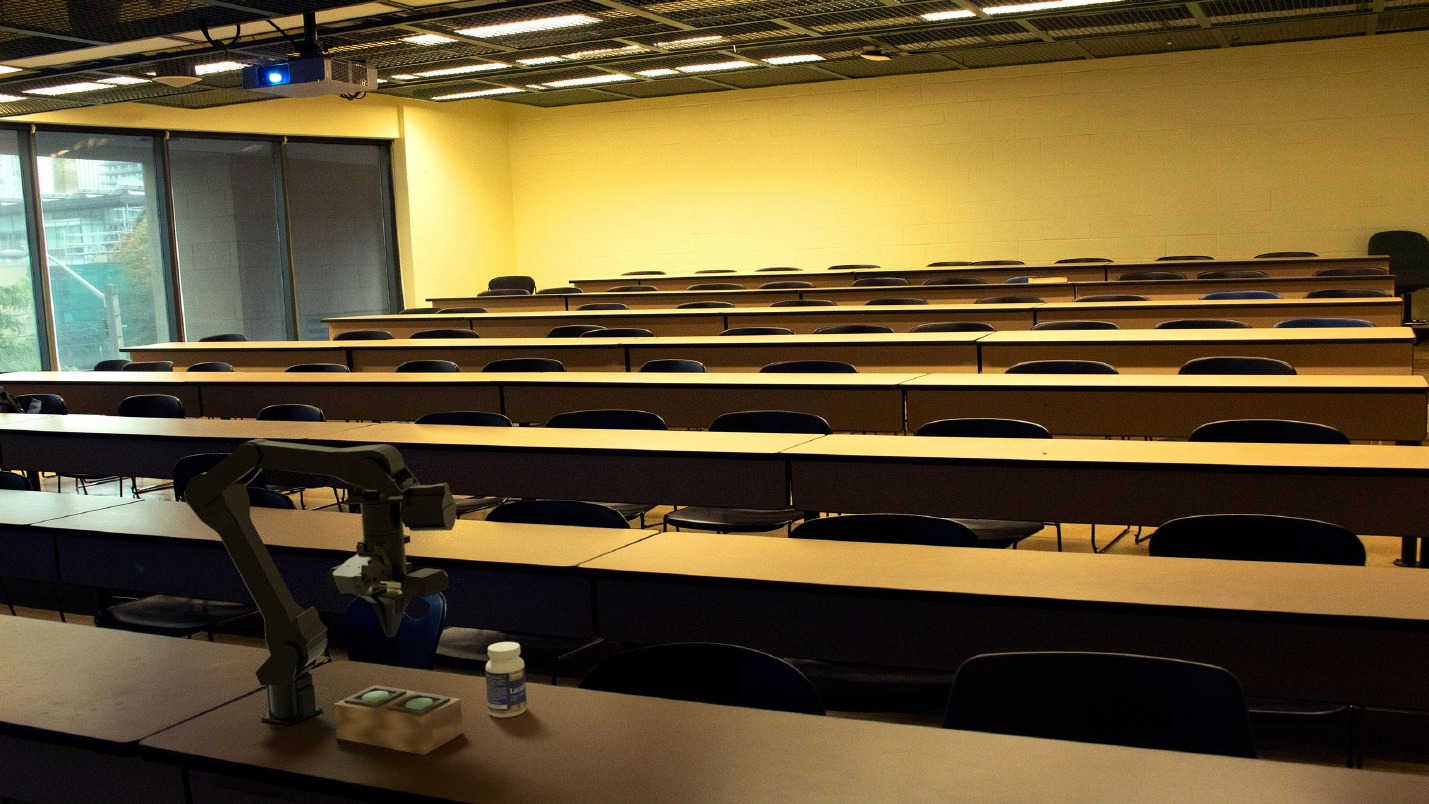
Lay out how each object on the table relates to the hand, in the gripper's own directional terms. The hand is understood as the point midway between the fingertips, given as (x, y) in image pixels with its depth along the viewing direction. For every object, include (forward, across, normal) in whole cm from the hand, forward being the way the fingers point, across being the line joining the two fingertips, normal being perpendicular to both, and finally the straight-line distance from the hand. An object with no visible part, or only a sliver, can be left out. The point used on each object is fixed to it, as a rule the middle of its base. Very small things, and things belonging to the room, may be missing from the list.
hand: (391, 636), depth 166 cm
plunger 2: (+12, +10, -6) cm, 17 cm away
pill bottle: (+12, +15, +7) cm, 21 cm away
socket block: (+12, +6, -6) cm, 15 cm away
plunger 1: (+12, +2, -6) cm, 14 cm away
